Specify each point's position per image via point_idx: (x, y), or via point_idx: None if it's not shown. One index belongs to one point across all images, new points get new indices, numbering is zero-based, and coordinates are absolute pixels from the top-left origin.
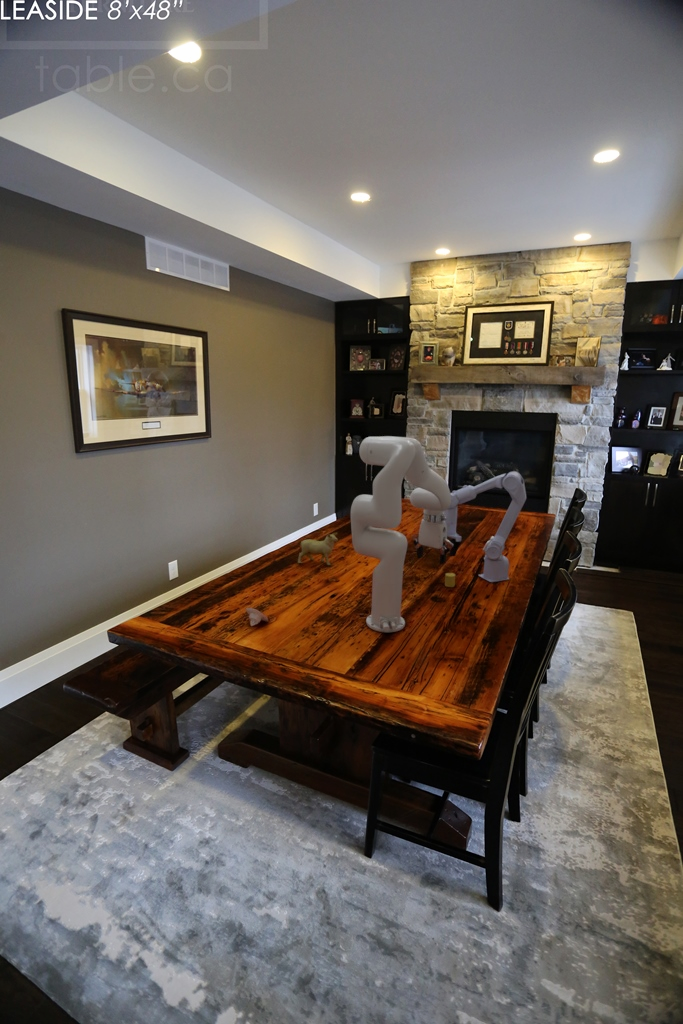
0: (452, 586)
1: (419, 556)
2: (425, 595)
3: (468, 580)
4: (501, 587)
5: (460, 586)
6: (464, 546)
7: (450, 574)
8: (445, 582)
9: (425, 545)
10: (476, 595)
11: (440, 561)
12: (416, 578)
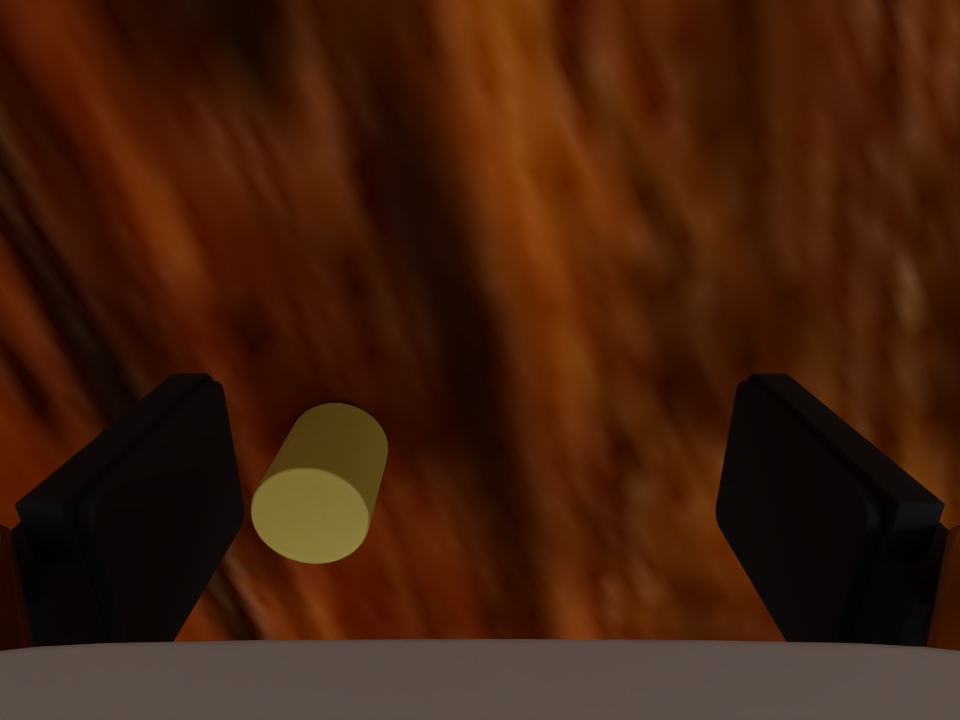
0: (292, 428)
1: (754, 416)
2: (372, 6)
3: (286, 632)
4: None
5: (252, 485)
6: None
7: (313, 523)
8: (357, 427)
9: (700, 642)
10: (11, 394)
11: (163, 396)
12: (696, 393)
